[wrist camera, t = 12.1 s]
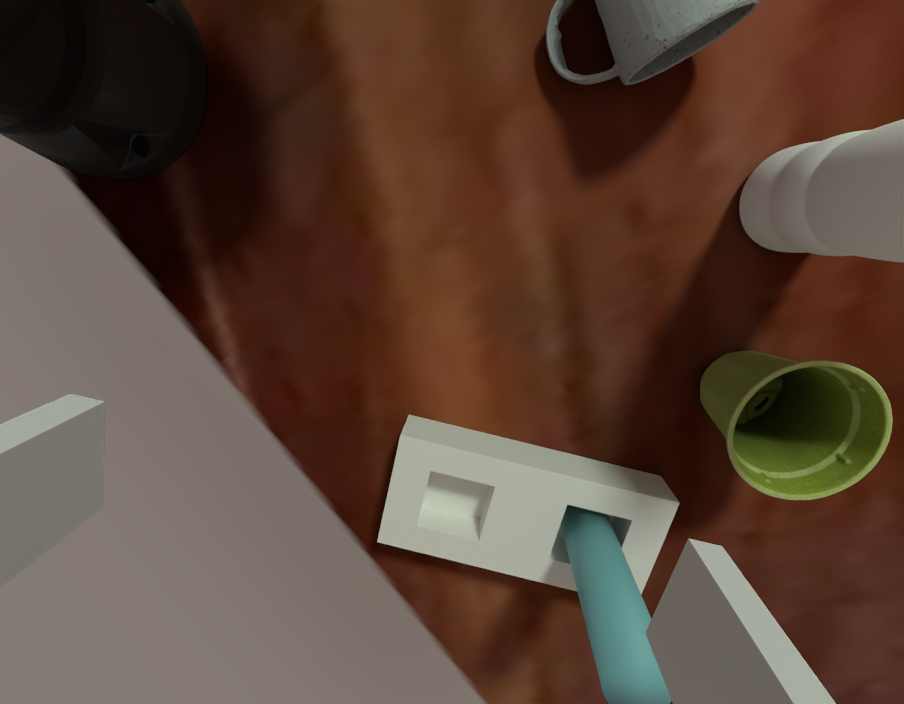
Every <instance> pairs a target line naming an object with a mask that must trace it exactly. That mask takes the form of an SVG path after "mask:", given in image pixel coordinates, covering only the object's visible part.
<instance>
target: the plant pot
mask: <svg viewBox="0 0 904 704" xmlns="http://www.w3.org/2000/svg"><path fill="white" fill-rule="evenodd" d="M766 397H768V400H767V402H766V403H765V404H764V405H763V406H762V407H761V408H760V409H757V410H755V409H754V408H755V407H756V406H757V405H759V404H760V403H762V401H764V399H765V398H766ZM700 401H701V403H702V406H703V407H704V409H705V410H706V412H707V413H708V415H709V416H710V417H711V419H712V420H713V421H714V423H715V424H716V426H717V427H718V429H719V430H720V431H721V433H722V434H723V436H724V437H725V439H726V445H727V451H728V455H729V458H730V460H731V463H732V465H733V466H734V468H735V470H736V471H737V472H738V474H739V475H740V476H741V477H742V478H743V479H744V480H745V481H746V482H747V483H748V484H749V485H751V486H752V487H754V488H755V489H757V490H759V491H761V492H763V493H765V494H767V495H770V496H773V497H777V498H782V499H788V500H812V499H817V498H822V497H826V496H829V495H832V494H834V493H837V492H839V491H842V490H844V489H846V488H848V487H849V486H851V485H853V484H855V483H856V482H858V481H859V480H860V479H861V478H863V477H864V476H865V475H866V474H867V473H868V472H869V471H871V469H872V468H873V467H874V466H875V465H876V464H877V462H878V461H879V459H880V458H881V456H882V454H883V453H884V451H885V449H886V447H887V445H888V442H889V438H890V435H891V431H892V410H891V405H890V402H889V399H888V397H887V395H886V393H885V392H884V390H883V389H882V387H881V386H880V385H879V383H878V382H877V381H876V380H875V379H873V378H872V377H871V376H870V375H868V374H867V373H865V372H864V371H862V370H860V369H858V368H856V367H853V366H850V365H847V364H844V363H840V362H835V361H826V360H813V361H804V362H797V361H793V360H788V359H784V358H780V357H776V356H772V355H768V354H764V353H760V352H756V351H751V350H746V351H737V352H731V353H727V354H725V355H723V356H721V357H719V358H718V359H716V360H715V361H714V362H713V363H711V365H710V366H709V367H708V368H707V369H706V371H705V372H704V374H703V376H702V378H701V381H700Z"/></svg>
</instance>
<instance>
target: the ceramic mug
mask: <svg viewBox="0 0 904 704" xmlns="http://www.w3.org/2000/svg"><path fill="white" fill-rule="evenodd" d="M572 1H573V0H557V1H556V3H555V4H554V6H553V8H552V11H551V14H550V17H549V20H548V24H547V29H546V45H547V51H548V55H549V58H550V61H551V63H552V65H553V67H554V69H555V71H556V72H557V73H558V74H559V75H561V76H562V77H563V78H565V79H566V80H569V81H571V82H574V83H578V84H595V83H600V82H603V81H606V80H610V79H612V78H614V77H616V76H620V79H621V81H622V83H623V84H624V85H632V84H636V83H639V82H642V81H645V80H647V79H649V78H650V77H652V76H654V75H657V74H659V73H661V72H663V71H665V70H667V69H669V68H671V67H672V66H674V65H676V64H678V63H680V62H682V61H683V60H685V59H686V58H689V57H690V56H692V55H693V54H695V53H696V52H698V51H700V50H701V49H703V48H705V47H706V46H708V45H709V44H711V43H712V42H714V41H715V40H717V39H719V38H720V37H722V36H723V35H724V34H725V33H726V32H728V31H729V30H731V29H732V28H734V27H735V26H736V25H737V24H738V23H739V22H741V21H742V20H743V19H744V18H746V17H747V16H748V15H749V14H750V13H751V12H752V11H753V10H754V9H755V7H756V6H757V5H758V4H759V2H760V0H595V2H596V5H597V9H598V12H599V16H601V18H602V22H603V25H604V28H605V32H606V35H607V39H608V42H609V45H610V48H611V51H612V55H613V57H614V60H615V64H614V66H613V67H612V68H611V69H610V70H607V71H605V72H600V73H596V74H591V75H580V74H576V73H573V72H572V71H569V70H568V68H567V65H566V61H565V58H564V55H563V51H562V46H561V37H562V35H561V32H560V31H559V30H558V25H559V22H560V20H561V18H562V15H563V13H564V11H565V10H566V8H567V7H568V6H569V5H570V4H571V2H572Z"/></svg>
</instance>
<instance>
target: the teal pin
mask: <svg viewBox="0 0 904 704" xmlns="http://www.w3.org/2000/svg"><path fill="white" fill-rule="evenodd" d="M561 528H562V532H563V536H564V540H565V544H566V548H567V552H568V556H569V560H570V564H571V568H572V572H573V576H574V580H575V584H576V587H577V591H578V595H579V599H580V603H581V607H582V611H583V615H584V619H585V623H586V627H587V631H588V635H589V639H590V643H591V647H592V651H593V655H594V659H595V663H596V667H597V671H598V675H599V679H600V683H601V687H602V691H603V694H604V697H605V698H606V700H607V701H608V703H609V704H669V703H671V701H672V700H671V697H670V695H669V692H668V689H667V687H666V684H665V682H664V679H663V677H662V674H661V672H660V669H659V666H658V664H657V661H656V659H655V656H654V654H653V651H652V649H651V646H650V643H649V641H648V638H647V636H646V630H647V628H648V626H649V624H650V622H651V617H650V615H649V613H648V610H647V608H646V605H645V603H644V601H643V598H642V596H641V593H640V591H639V589H638V586H637V584H636V582H635V579H634V577H633V574H632V572H631V570H630V567H629V565H628V562H627V560H626V558H625V555H624V553H623V551H622V548H621V546H620V543H619V541H618V539H617V536H616V534H615V532H614V529H613V527H612V524H611V522H610V520H609V517H608V515H607V514H604V513H600V512H596V511H592V510H588V509H584V508H580V507H576V506H572V505H568V504H567V507H566V510H565V513H564V516H563V519H562V522H561Z"/></svg>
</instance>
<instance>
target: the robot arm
mask: <svg viewBox="0 0 904 704" xmlns="http://www.w3.org/2000/svg"><path fill="white" fill-rule="evenodd" d="M206 94H207V73H206V64H205V58H204V53H203V49H202V45H201V42H200V39H199V36H198V33H197V30H196V28H195V26H194V23H193V21H192V19H191V17H190V15H189V13H188V11H187V10H186V8H185V6H184V5H183V3H182V2H181V0H0V134H1V135H3V136H5V137H7V138H9V139H11V140H13V141H15V142H16V143H18V144H20V145H22V146H24V147H26V148H28V149H30V150H32V151H34V152H36V153H38V154H39V155H41V156H44V157H45V158H47V159H49V160H51V161H53V162H55V163H56V164H58V165H61V166H63V167H65V168H68V169H70V170H73V171H76V172H80V173H83V174H87V175H92V176H100V177H108V178H116V179H134V178H141V177H145V176H149V175H152V174H154V173H157V172H159V171H161V170H163V169H164V168H166V167H167V166H169V165H170V164H172V163H173V162H174V161H175V160H177V159H178V158H179V157H180V156H181V155H182V153H183V152H184V151H185V150H186V149H187V147H188V146H189V145H190V143H191V141H192V140H193V138H194V136H195V134H196V132H197V130H198V128H199V125H200V123H201V120H202V116H203V112H204V108H205V103H206ZM104 427H105V402H104V401H100V400H96V399H91V398H87V397H83V396H78V395H74V394H68V395H66V396H64V397H61V398H59V399H57V400H55V401H52V402H50V403H48V404H45V405H43V406H41V407H39V408H36V409H34V410H32V411H29V412H27V413H25V414H23V415H21V416H18V417H16V418H14V419H11V420H9V421H7V422H4V423H2V424H0V588H1V587H2V586H3V585H5V584H6V583H7V582H9V581H10V580H11V579H12V578H14V577H15V576H16V575H18V574H19V573H20V572H21V571H23V570H24V569H25V568H26V567H28V566H29V565H30V564H32V563H33V562H34V561H36V560H37V559H38V558H39V557H40V556H42V555H43V554H44V553H46V552H47V551H48V550H50V549H51V548H52V547H54V546H55V545H56V544H57V543H59V542H60V541H61V540H62V539H64V538H65V537H66V536H68V535H69V534H70V533H71V532H73V531H74V530H75V529H77V528H78V527H79V526H80V525H82V524H83V523H84V522H85V521H87V520H88V519H89V518H91V517H92V516H93V515H95V514H96V513H97V512H98V511H99V510H101V509H102V508H103V507H104V441H105V440H104V438H105V435H104V434H105V429H104ZM646 636H647V638H648V641H649V643H650V646H651V649H652V651H653V654H654V656H655V659H656V661H657V664H658V666H659V669H660V672H661V674H662V677H663V679H664V682H665V684H666V687H667V689H668V692H669V695H670V697H671V700H672V702H673V704H836V703H835V702H834V700H833V699H832V698H831V696H830V695H829V693H828V692H827V691H826V689H825V688H824V687H823V685H822V684H821V682H820V681H819V680H818V678H817V677H816V675H815V674H814V673H813V671H812V670H811V669H810V667H809V666H808V664H807V663H806V662H805V660H804V659H803V657H802V656H801V655H800V653H799V652H798V651H797V649H796V648H795V646H794V645H793V644H792V642H791V641H790V640H789V638H788V637H787V635H786V634H785V633H784V631H783V630H782V628H781V627H780V626H779V624H778V623H777V622H776V620H775V619H774V617H773V616H772V615H771V613H770V612H769V610H768V609H767V608H766V606H765V605H764V604H763V602H762V601H761V599H760V598H759V597H758V595H757V594H756V593H755V591H754V590H753V588H752V587H751V586H750V584H749V583H748V581H747V580H746V579H745V577H744V576H743V575H742V573H741V572H740V570H739V569H738V568H737V566H736V565H735V563H734V562H733V561H732V559H731V558H730V557H729V555H728V554H727V552H726V551H725V550H724V548H723V547H722V546H719V545H714V544H710V543H706V542H701V541H697V540H693V539H689V538H688V540H687V543H686V545H685V547H684V549H683V551H682V554H681V556H680V558H679V560H678V562H677V565H676V567H675V569H674V571H673V573H672V576H671V578H670V580H669V582H668V584H667V587H666V589H665V591H664V593H663V595H662V598H661V600H660V602H659V604H658V606H657V609H656V611H655V613H654V615H653V617H652V620H651V622H650V624H649V626H648V628H647V630H646Z"/></svg>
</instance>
